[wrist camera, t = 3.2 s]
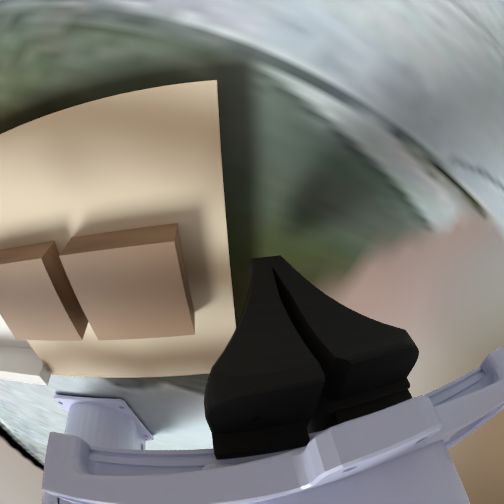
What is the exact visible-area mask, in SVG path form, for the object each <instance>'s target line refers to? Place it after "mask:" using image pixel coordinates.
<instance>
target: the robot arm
mask: <svg viewBox="0 0 504 504" xmlns="http://www.w3.org/2000/svg"><path fill="white" fill-rule="evenodd" d="M249 263H250V286H249V292H248V296H247V300H246V303H245V307H244V310H243V313H242V315H241V318H240V320H239V323H238V325H237V327H236V329H235V332H234V334H233V336H232V337H231V339H230V341H229V343H228V344H227V346H226V348H225V350H224V351H223V353H222V354H221V355H220V357H219V358H218V360H217V361H216V362H215V364H214V365H213V367H212V368H211V372H210V375H209V378H208V382H207V386H206V390H205V397H204V407H205V417H206V420H207V423H208V425H209V427H210V430H211V432H212V439H213V448H214V449H200V450H145V441H146V440H153V436H152V434H151V433H150V432H149V431H148V430H147V429H146V427H145V426H144V425H143V424H142V423H141V421H140V420H139V419H138V418H137V416H136V415H135V414H134V413H133V411H132V410H131V409H130V408H129V406H128V405H127V404H126V402H125V401H124V400H122V399H109V398H89V397H75V396H65V395H54V400H55V401H56V402H57V403H58V404H59V405H60V406H61V407H62V408H63V409H64V410H65V411H66V412H67V413H68V417H67V422H66V428H65V433H64V434H61V433H56V432H50V434H49V440H48V445H47V451H46V458H45V465H44V473H43V482H42V489H43V494H42V504H470V502H469V499H468V496H467V494H466V492H465V489H464V487H463V484H462V482H461V480H460V478H459V475H458V473H457V471H456V468H455V466H454V464H453V462H452V460H451V457H450V455H449V453H448V451H447V449H448V448H450V447H452V446H453V445H455V444H456V443H458V442H459V441H461V440H462V439H464V438H465V437H466V436H468V435H469V434H471V433H472V432H474V431H475V430H476V429H478V428H479V427H480V426H482V425H483V424H484V423H486V422H487V421H488V420H490V419H491V418H492V417H494V416H495V415H496V414H497V413H499V412H500V411H501V410H502V409H503V408H504V346H501V347H500V348H498V349H497V350H495V351H493V352H492V353H490V354H489V355H488V356H487V357H486V358H485V360H484V361H483V362H482V364H481V366H480V367H478V368H477V369H475V370H473V371H471V372H469V373H468V374H466V375H464V376H462V377H460V378H458V379H456V380H455V381H453V382H451V383H449V384H447V385H445V386H443V387H441V388H439V389H437V390H434V391H432V392H430V393H428V394H426V395H424V396H423V395H421V396H418V397H414V398H412V396H411V394H410V393H409V391H408V388H409V387H410V383H409V381H408V379H407V376H408V375H409V373H410V371H411V370H412V368H413V367H414V365H415V363H416V361H417V359H418V355H419V351H418V348H417V346H416V345H415V343H414V342H413V340H412V339H411V337H410V336H409V334H408V333H407V332H406V330H404V329H400V328H397V327H393V326H390V325H387V324H383V323H381V322H378V321H376V320H373V319H370V318H368V317H366V316H363V315H361V314H359V313H357V312H355V311H353V310H351V309H349V308H347V307H345V306H344V305H342V304H340V303H338V302H337V301H335V300H334V299H332V298H330V297H329V296H327V295H326V294H324V293H323V292H322V291H320V290H319V289H318V288H316V287H315V286H314V285H312V284H311V283H310V282H309V281H308V280H306V279H305V278H304V277H303V276H302V275H301V274H300V273H298V272H297V271H296V270H295V269H294V268H293V267H292V266H291V265H290V264H289V263H288V262H287V261H286V260H285V259H284V258H282V257H281V256H272V257H263V258H254V259H251V260H250V261H249Z"/></svg>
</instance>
